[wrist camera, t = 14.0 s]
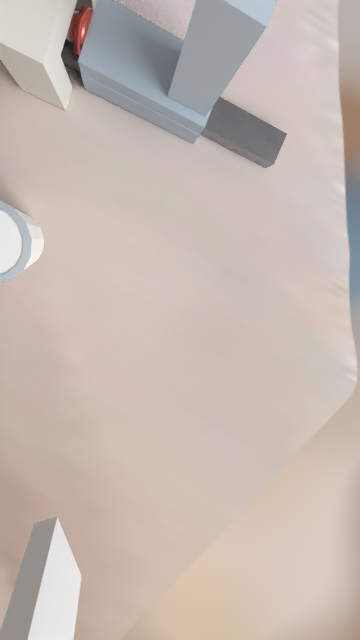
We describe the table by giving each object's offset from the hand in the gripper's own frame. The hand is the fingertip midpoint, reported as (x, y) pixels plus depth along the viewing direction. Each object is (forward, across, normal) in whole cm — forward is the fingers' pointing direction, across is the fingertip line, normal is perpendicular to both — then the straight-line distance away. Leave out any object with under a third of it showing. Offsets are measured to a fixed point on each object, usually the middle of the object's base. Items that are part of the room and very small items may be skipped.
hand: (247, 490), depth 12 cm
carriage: (+27, +4, +22) cm, 35 cm away
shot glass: (+27, -13, +11) cm, 32 cm away
